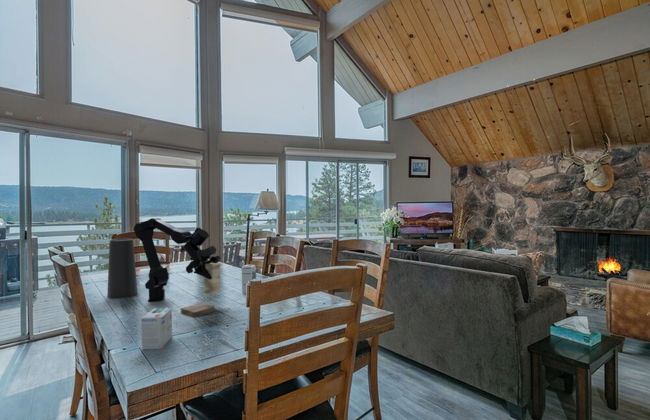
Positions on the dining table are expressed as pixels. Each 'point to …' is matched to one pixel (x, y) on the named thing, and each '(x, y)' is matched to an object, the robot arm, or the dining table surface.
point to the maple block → (213, 283)
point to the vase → (121, 269)
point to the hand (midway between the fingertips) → (214, 277)
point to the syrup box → (247, 275)
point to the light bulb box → (156, 328)
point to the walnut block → (197, 309)
